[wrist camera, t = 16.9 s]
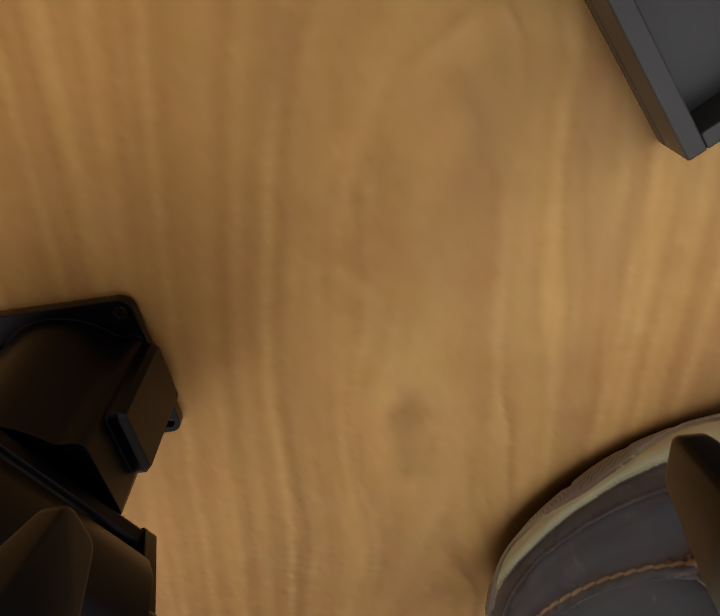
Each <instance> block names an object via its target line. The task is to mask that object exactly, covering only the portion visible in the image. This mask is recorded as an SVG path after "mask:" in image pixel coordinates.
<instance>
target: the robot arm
mask: <svg viewBox="0 0 720 616" xmlns="http://www.w3.org/2000/svg"><path fill="white" fill-rule="evenodd" d="M117 306H121V307H124V308H125V309H126V310H127V312H122V311H120V310H119V309H118V307H117ZM177 396H178V393H177V390H176V388H175V385H174V383H173V380H172V378H171V375H170V373H169V371H168V368H167V366H166V363H165V361H164V358H163V356H162V353H161V351H160V348H159V347H158V346H157V345H156V344H155V343H153V342H152V340H151V337H150V335H149V332H148V330H147V328H146V325H145V323H144V320H143V318H142V315H141V313H140V311H139V308H138V306H137V304H136V302H135V301H134V300H133V299H132V298H130V297H128V296H125V295H116V296H109V297H102V298H95V299H87V300H80V301H73V302H66V303H59V304H52V305H45V306H37V307H30V308H23V309H16V310H9V311H2V312H0V616H156V614H155V606H156V536H155V535H154V534H152V533H151V532H150V531H148V530H147V529H145V528H141V529H140V528H139V527H137V526H136V525H134V524H133V523H132V522H130V521H129V520H127V519H126V518H125V517H123V516H122V515H121V514H122V512H123V509H124V507H125V504H126V501H127V499H128V496H129V494H130V491H131V489H132V486H133V484H134V481H135V479H136V476H137V474H138V473H142V472H147V471H148V469H149V468H150V467H151V465H152V463H153V460H154V458H155V455H156V452H157V450H158V447H159V444H160V442H161V439H162V436H163V434H164V432H171V431H175V430H177V429H178V428H179V427H180V424H181V421H182V419H183V417H182V413H181V410H180V408H179V406H178V403H177V401H176V399H177ZM169 418H170V419H172V420H173V421H172V420H169ZM665 481H666V486H667V490H668V493H669V495H670V498H671V500H672V503H673V505H674V508H675V510H676V513H677V515H678V518H679V520H680V523H681V526H682V528H683V531H684V533H685V536H686V538H687V541H688V543H689V546H690V548H691V551H692V553H693V556H694V558H695V561H696V563H697V566H698V568H699V571H700V573H701V576H702V578H703V581H704V583H705V585H706V588H707V590H708V593H709V595H710V597H711V599H712V601H713V603H714V605H715V607H716V609H717V611H718V613H719V615H720V442H719V441H717V440H716V439H714V438H713V437H711V436H709V435H707V434H704V433H693V434H684V435H677V436H675V437H674V438H673V439H672V442H671V445H670V451H669V456H668V462H667V467H666V473H665Z"/></svg>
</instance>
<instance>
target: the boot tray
mask: <svg viewBox="0 0 720 616" xmlns="http://www.w3.org/2000/svg"><path fill="white" fill-rule="evenodd" d="M585 1H586V3H587V5H588V7H589V9H590V11H591V13H592V15H593V17H594V18H595V20H596V22H597V24H598V26H599V28H600V30H601V32H602V34H603V36H604V38H605V39H606V41H607V43H608V45H609V47H610V49H611V51H612V53H613V55H614V57H615V59H616V60H617V62H618V64H619V66H620V68H621V70H622V72H623V74H624V76H625V78H626V79H627V81H628V83H629V85H630V87H631V89H632V91H633V93H634V95H635V97H636V99H637V100H638V102H639V104H640V106H641V108H642V110H643V112H644V114H645V116H646V118H647V120H648V121H649V123H650V125H651V127H652V129H653V131H654V133H655V135H656V137H657V139H658V140H659V142H660V143H662V144H663V145H665V146H667V147H668V148H670V149H671V150H673V151H674V152H676V153H678V154H679V155H681V156H682V157H684V158H685V159H687V160H691V159H693V158H694V157H696V156H698V155H699V154H701V153H702V152H704V151H705V150H706V149H707V148H710V147H712V146H713V145H715V144H716V143H718V142H720V0H585ZM706 147H707V148H706Z"/></svg>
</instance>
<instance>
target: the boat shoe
mask: <svg viewBox="0 0 720 616" xmlns="http://www.w3.org/2000/svg"><path fill="white" fill-rule="evenodd" d="M693 433H704V434H707V435H709V436H711V437H713V438H714V439H716V440H717V441H719V442H720V413H718V414H714V415H710V416H706V417H702V418H698V419H694V420H690V421H687V422H683V423H681V424H680V425H678V426H675V427H672V428H666V429H664V430H662V431H660V432H657V433H655V434H652V435H650V436H647V437H644V438H642V439H640V440H638V441H636V442H633V443H631V444H630V445H629V446H628V447H627V448H625V449H622V450H619V451H617V452H615V453H613V454H611V455H610V456H608V457H606V458H605V459H603V460H601V461H600V462H598V463H597V464H595V465H594V466H592V467H591V468H589V469H588V470H587V471H585V472H584V473H583V474H581V475H580V476H579V477H578V478H576V479H575V480H574V481H573V482H572V484H571V486H569V487H568V488H565V489H563V490H561V491H560V492H559V493H558V494H557V495H555V496H554V497H553V498H552V499H551V500H550V501H548V502H547V503H546V504H545V505H544V506H543V507H542V508H541V509H540V510H539V511H538V512H537V513H536V514H535V515H534V516H533V517H531V519H530V520H529V521H528V522H527V523H526V524H525V525H524V527H523V528H522V529H521V530H520V531H519V532H518V534H517V535H516V536H515V537H514V539H513V540H512V541H511V542H510V544H509V545H508V546H507V548H506V549H505V551H504V553H503V554H502V556H501V558H500V560H499V563H498V565H497V567H496V569H495V571H494V574H493V577H492V580H491V583H490V586H489V590H488V594H487V600H486V607H485V613H486V616H720V615H719V613H718V611H717V609H716V607H715V605H714V603H713V601H712V599H711V597H710V595H709V593H708V590H707V588H706V585H705V583H704V581H703V578H702V576H701V573H700V571H699V568H698V566H697V563H696V561H695V558H694V556H693V553H692V551H691V548H690V546H689V543H688V541H687V538H686V536H685V533H684V531H683V528H682V526H681V523H680V520H679V518H678V515H677V513H676V510H675V508H674V505H673V503H672V500H671V498H670V495H669V493H668V490H667V486H666V481H665V473H666V467H667V462H668V456H669V451H670V445H671V442H672V439H673V438H674V437H675V436H677V435H684V434H693Z"/></svg>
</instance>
